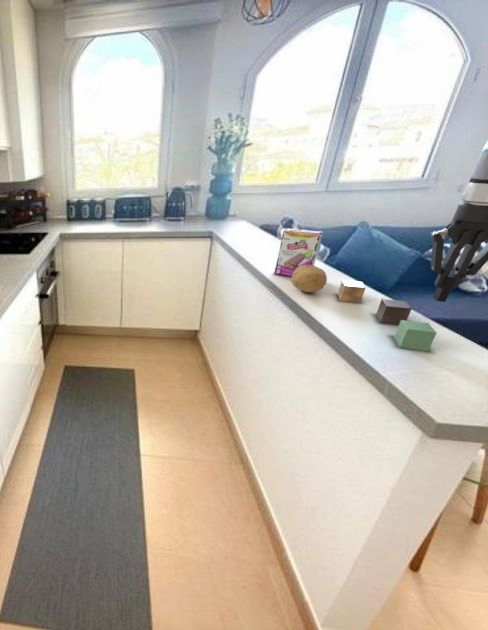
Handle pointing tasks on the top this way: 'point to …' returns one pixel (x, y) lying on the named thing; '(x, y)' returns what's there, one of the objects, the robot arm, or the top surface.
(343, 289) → the oak block
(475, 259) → the robot arm
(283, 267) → the candy bar box
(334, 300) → the top surface
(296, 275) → the potato
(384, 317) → the walnut block
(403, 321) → the sage block
